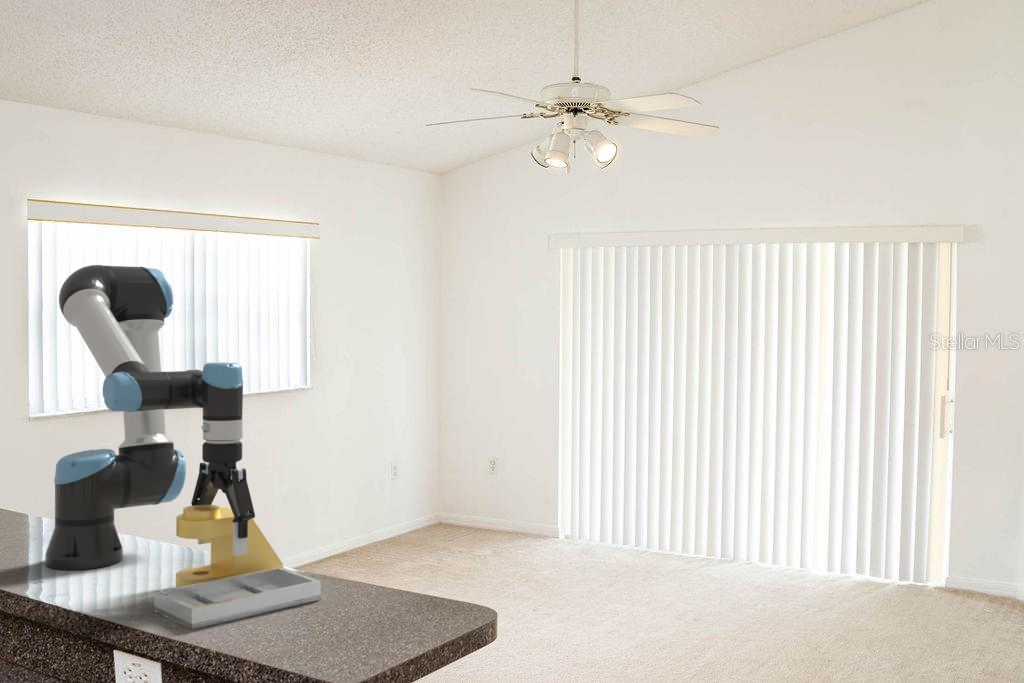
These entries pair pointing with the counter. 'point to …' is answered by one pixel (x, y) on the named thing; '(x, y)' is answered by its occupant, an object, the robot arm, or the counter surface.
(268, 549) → the yellow mounting bracket
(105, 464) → the robot arm
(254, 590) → the tray
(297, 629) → the counter surface
